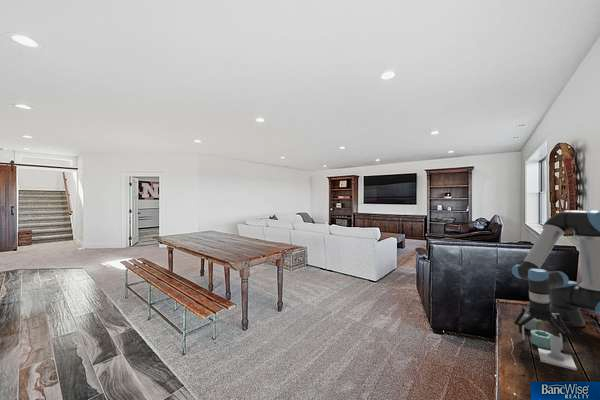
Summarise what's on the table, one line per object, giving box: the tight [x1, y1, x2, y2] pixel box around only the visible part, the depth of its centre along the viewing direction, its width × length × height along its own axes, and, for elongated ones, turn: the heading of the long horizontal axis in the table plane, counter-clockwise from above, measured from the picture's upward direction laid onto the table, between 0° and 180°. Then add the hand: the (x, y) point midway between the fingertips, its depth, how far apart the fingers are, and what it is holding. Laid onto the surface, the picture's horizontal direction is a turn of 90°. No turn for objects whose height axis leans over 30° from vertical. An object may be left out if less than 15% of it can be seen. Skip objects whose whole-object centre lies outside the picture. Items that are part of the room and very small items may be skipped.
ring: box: [530, 330, 553, 350], centre depth 126 cm, size 8×8×5 cm
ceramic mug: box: [519, 313, 546, 331], centre depth 139 cm, size 11×8×8 cm
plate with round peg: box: [537, 334, 578, 372], centre depth 114 cm, size 11×11×10 cm
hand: (541, 343), depth 126 cm, fingers open, 13 cm apart
